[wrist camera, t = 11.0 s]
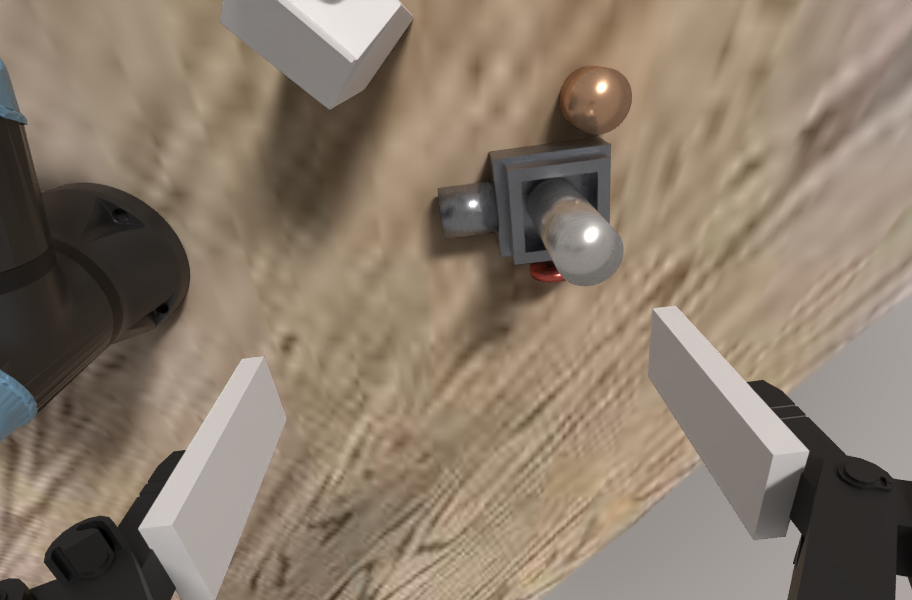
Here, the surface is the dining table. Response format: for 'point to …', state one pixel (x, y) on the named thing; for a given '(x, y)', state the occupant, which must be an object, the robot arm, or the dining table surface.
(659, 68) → the dining table surface
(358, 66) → the milk carton
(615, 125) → the glossy bronze sphere
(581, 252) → the silver rounded cylinder
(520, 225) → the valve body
